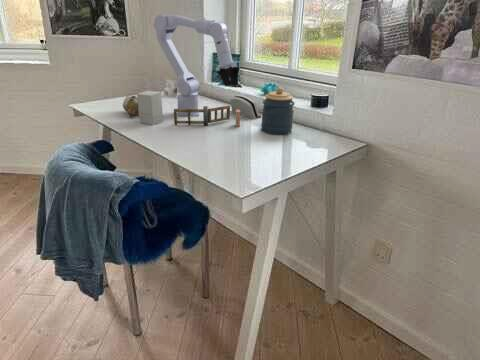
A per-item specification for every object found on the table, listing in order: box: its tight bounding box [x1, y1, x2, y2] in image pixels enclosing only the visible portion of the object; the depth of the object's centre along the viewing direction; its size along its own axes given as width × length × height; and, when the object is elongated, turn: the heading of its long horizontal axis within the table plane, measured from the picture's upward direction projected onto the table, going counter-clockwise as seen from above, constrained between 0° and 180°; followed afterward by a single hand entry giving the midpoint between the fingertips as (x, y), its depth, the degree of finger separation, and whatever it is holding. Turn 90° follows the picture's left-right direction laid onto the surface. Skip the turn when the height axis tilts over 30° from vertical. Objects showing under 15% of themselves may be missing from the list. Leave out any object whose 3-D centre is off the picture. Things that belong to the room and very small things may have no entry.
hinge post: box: [202, 105, 209, 127], centre depth 150 cm, size 2×2×8 cm
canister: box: [260, 87, 296, 136], centre depth 145 cm, size 13×13×18 cm
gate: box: [208, 105, 231, 124], centre depth 154 cm, size 11×1×6 cm, turn 129°
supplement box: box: [136, 90, 164, 126], centre depth 151 cm, size 7×7×13 cm
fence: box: [173, 108, 204, 126], centre depth 150 cm, size 12×1×7 cm, turn 94°
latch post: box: [235, 110, 241, 128], centre depth 152 cm, size 2×4×6 cm, turn 4°
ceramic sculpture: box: [122, 95, 139, 117], centre depth 163 cm, size 11×9×15 cm
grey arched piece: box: [229, 94, 262, 120], centre depth 168 cm, size 17×5×10 cm, turn 39°
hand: (231, 85), depth 154 cm, fingers open, 7 cm apart
